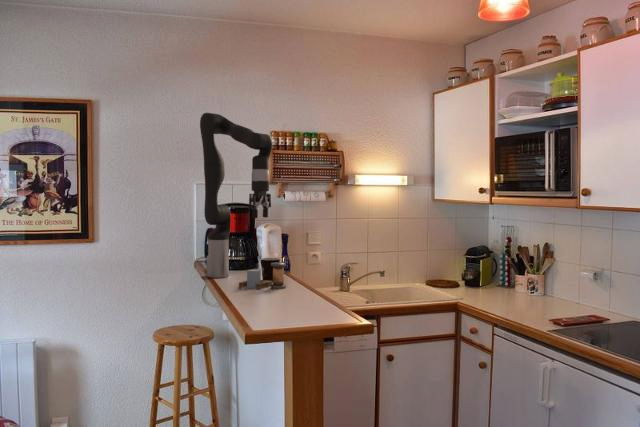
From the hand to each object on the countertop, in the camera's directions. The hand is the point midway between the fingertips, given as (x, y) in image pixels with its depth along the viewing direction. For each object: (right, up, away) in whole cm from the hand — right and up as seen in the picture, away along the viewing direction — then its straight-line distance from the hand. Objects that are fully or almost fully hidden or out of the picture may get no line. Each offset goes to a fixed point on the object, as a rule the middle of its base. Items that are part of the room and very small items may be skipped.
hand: (260, 217), depth 231 cm
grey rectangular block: (-1, -29, -10) cm, 30 cm away
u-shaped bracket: (-1, -28, -9) cm, 30 cm away
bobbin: (+9, -29, -11) cm, 32 cm away
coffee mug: (+4, -28, +6) cm, 29 cm away
